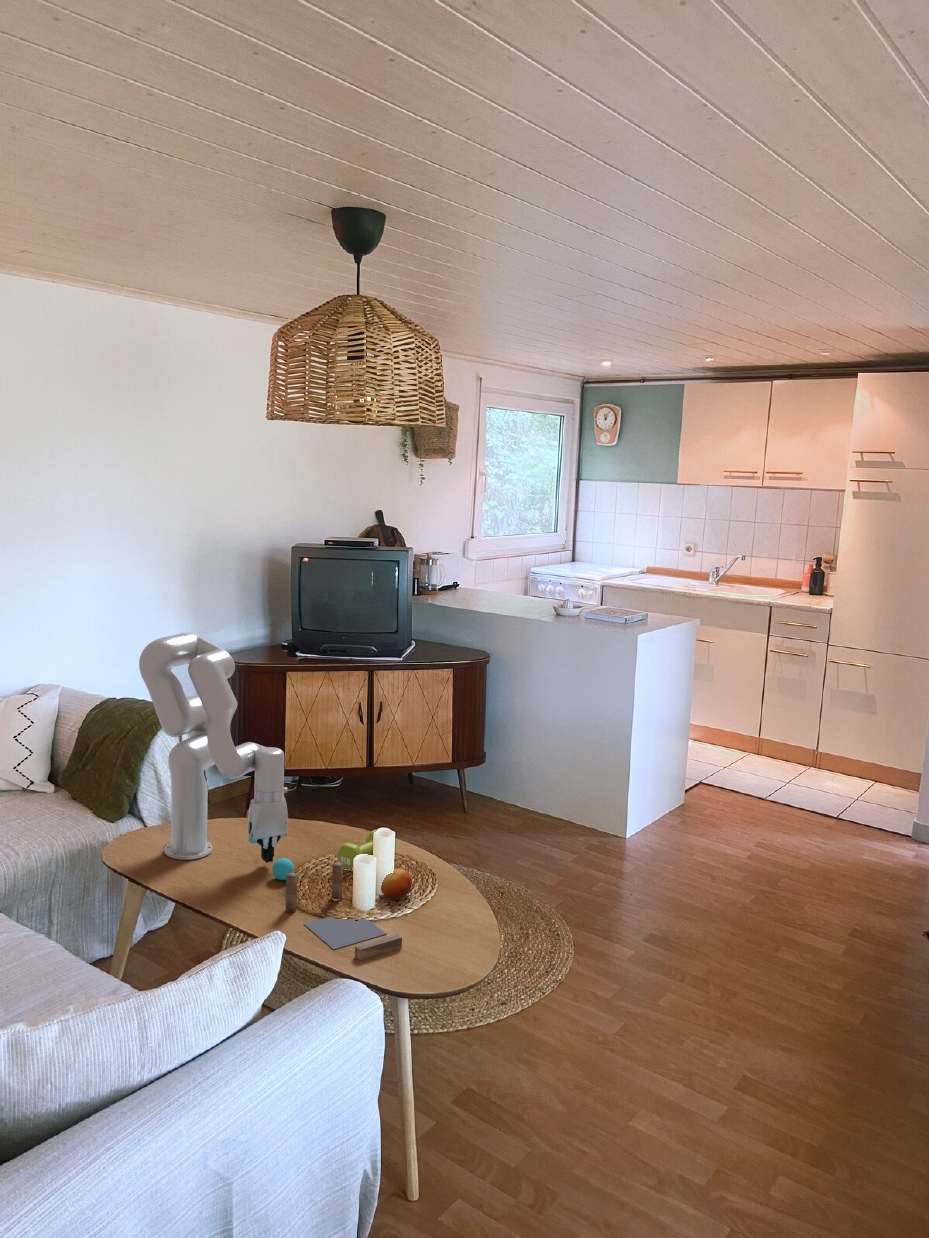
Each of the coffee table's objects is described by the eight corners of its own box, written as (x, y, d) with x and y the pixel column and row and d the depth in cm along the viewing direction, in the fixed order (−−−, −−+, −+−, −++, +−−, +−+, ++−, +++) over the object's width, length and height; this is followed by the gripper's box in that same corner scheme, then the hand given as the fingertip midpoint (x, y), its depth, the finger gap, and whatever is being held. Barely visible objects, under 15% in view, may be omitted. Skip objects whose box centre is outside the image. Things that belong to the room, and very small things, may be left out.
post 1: (283, 909, 224) (284, 874, 222) (293, 907, 225) (294, 871, 224) (288, 913, 222) (289, 878, 220) (298, 911, 223) (299, 875, 222)
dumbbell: (356, 876, 245) (357, 850, 244) (333, 868, 250) (334, 842, 249) (393, 857, 259) (394, 832, 258) (370, 850, 263) (371, 826, 262)
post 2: (329, 897, 231) (330, 863, 230) (338, 895, 233) (339, 861, 232) (334, 901, 229) (336, 867, 228) (343, 899, 231) (345, 865, 230)
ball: (268, 877, 241) (268, 857, 240) (287, 873, 244) (288, 853, 244) (277, 885, 237) (278, 864, 236) (297, 880, 240) (297, 860, 239)
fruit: (414, 900, 230) (399, 871, 229) (387, 912, 231) (372, 883, 231) (422, 887, 237) (408, 859, 237) (396, 898, 239) (382, 871, 239)
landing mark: (303, 924, 217) (303, 923, 217) (355, 910, 225) (355, 909, 225) (333, 949, 206) (333, 948, 206) (386, 934, 214) (386, 933, 214)
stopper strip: (354, 956, 203) (355, 945, 203) (396, 943, 210) (397, 933, 210) (359, 960, 202) (359, 949, 202) (401, 947, 209) (402, 937, 208)
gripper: (288, 786, 253) (286, 850, 255) (236, 794, 244) (235, 861, 246) (301, 794, 247) (299, 859, 249) (248, 803, 238) (247, 871, 240)
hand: (267, 860), depth 248 cm, fingers closed
